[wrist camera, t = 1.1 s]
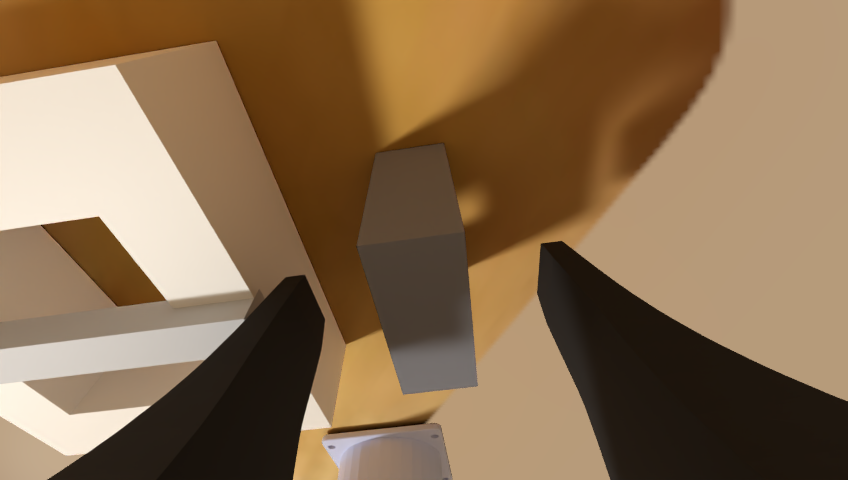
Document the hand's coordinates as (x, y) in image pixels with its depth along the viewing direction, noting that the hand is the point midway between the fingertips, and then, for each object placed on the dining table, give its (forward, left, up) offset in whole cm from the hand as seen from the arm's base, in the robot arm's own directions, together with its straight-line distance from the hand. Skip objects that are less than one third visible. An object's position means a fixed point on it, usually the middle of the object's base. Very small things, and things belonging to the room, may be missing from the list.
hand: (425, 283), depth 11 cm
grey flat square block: (0, 0, -4) cm, 4 cm away
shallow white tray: (0, +11, -4) cm, 12 cm away
